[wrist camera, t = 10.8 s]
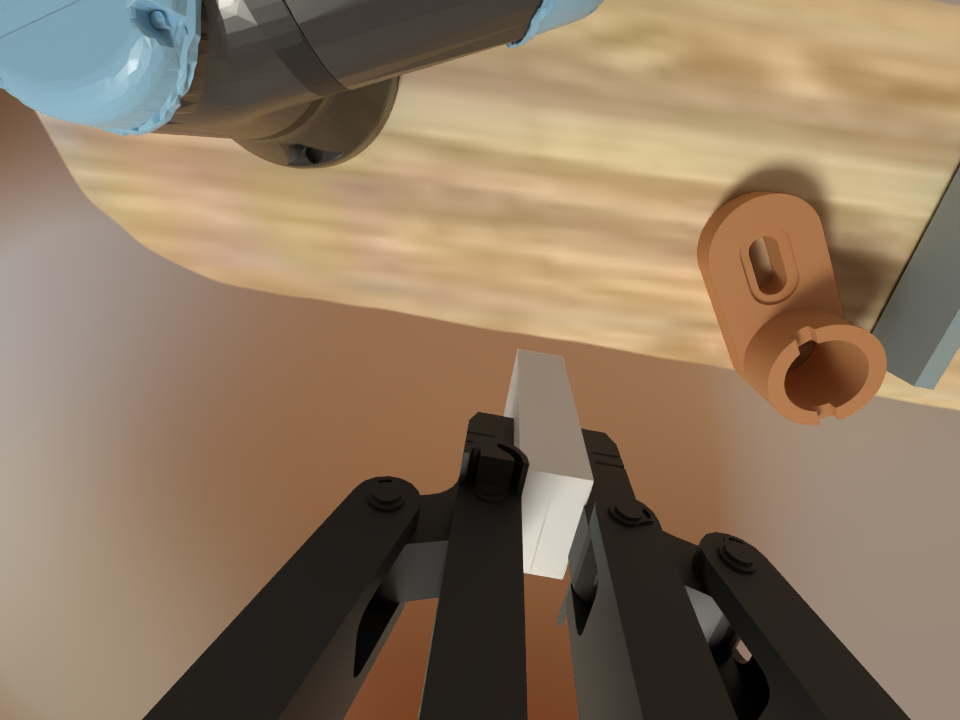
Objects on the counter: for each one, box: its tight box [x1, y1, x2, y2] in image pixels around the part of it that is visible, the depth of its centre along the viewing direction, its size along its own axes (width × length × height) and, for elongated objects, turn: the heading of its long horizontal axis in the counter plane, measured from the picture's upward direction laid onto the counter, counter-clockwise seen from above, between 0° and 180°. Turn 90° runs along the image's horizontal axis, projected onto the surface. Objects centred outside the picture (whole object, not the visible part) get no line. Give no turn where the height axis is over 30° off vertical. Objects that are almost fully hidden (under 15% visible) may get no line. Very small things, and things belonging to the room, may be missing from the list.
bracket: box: [697, 191, 887, 425], centre depth 37 cm, size 18×8×7 cm, turn 27°
